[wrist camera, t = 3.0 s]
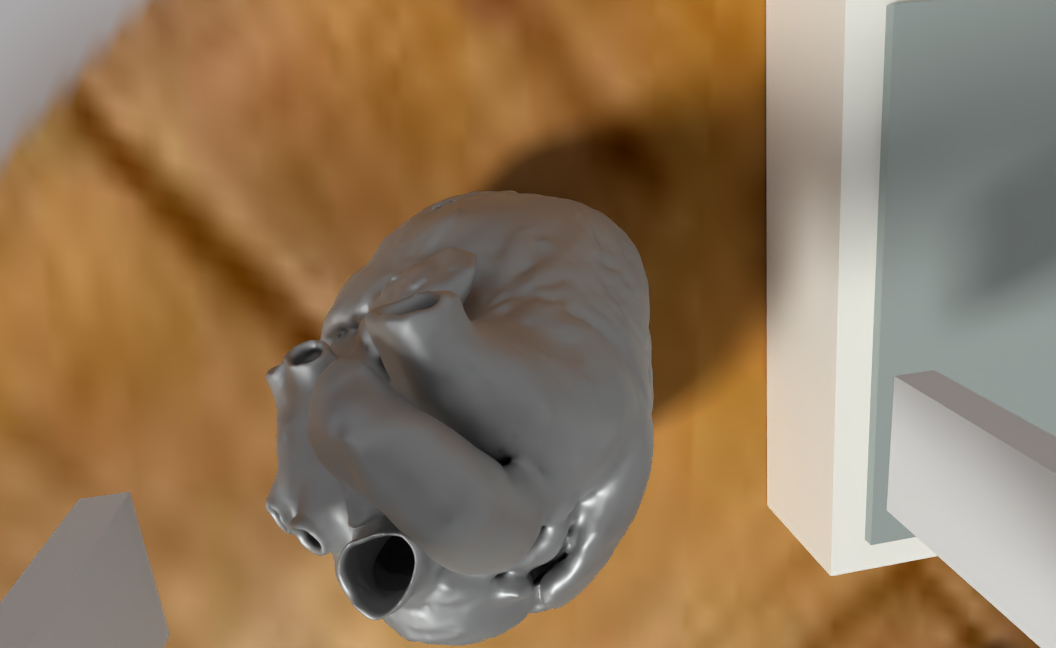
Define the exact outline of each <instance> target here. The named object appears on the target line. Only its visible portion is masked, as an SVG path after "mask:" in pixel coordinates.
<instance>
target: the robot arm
mask: <svg viewBox="0 0 1056 648" xmlns="http://www.w3.org/2000/svg"><path fill="white" fill-rule="evenodd" d="M887 511H888V512H889V513H890V514H891V515H892V516H894V517H895V518H896V519H897V520H898V521H899V522H900V523H901V524H902V525H904V526H905V527H906V528H907V529H908V530H909V531H910V532H911V533H913V534H914V535H915V536H916V537H917V538H918V539H919V540H920V541H922V542H923V543H924V544H925V545H926V546H927V547H928V548H929V549H931V550H932V551H933V552H934V553H935V554H936V555H937V556H938V557H940V558H941V559H942V560H943V561H944V562H945V563H946V564H947V565H949V566H950V567H951V568H952V569H953V570H954V571H955V572H956V573H957V574H959V575H960V576H961V577H962V578H963V579H964V580H965V581H966V582H968V583H969V584H970V585H971V586H972V587H973V588H974V589H975V590H977V591H978V592H979V593H980V594H981V595H982V596H983V597H984V598H986V599H987V600H988V601H989V602H990V603H991V604H992V605H993V606H995V607H996V608H997V609H998V610H999V611H1000V612H1001V613H1002V614H1003V615H1005V616H1006V617H1007V618H1008V619H1009V620H1010V621H1011V622H1012V623H1014V624H1015V625H1016V626H1017V627H1018V628H1019V629H1020V630H1021V631H1023V632H1024V633H1025V634H1026V635H1027V636H1028V637H1029V638H1030V639H1032V640H1033V641H1034V642H1035V643H1036V644H1037V645H1038V646H1039V647H1041V648H1056V437H1055V436H1053V435H1051V434H1050V433H1048V432H1046V431H1044V430H1042V429H1040V428H1039V427H1037V426H1035V425H1033V424H1031V423H1030V422H1028V421H1026V420H1024V419H1022V418H1020V417H1019V416H1017V415H1015V414H1013V413H1011V412H1010V411H1008V410H1006V409H1004V408H1002V407H1000V406H999V405H997V404H995V403H993V402H991V401H989V400H988V399H986V398H984V397H982V396H980V395H979V394H977V393H975V392H973V391H971V390H969V389H968V388H966V387H964V386H962V385H960V384H958V383H957V382H955V381H953V380H951V379H949V378H948V377H946V376H944V375H942V374H940V373H938V372H937V371H935V370H931V371H924V372H918V373H911V374H905V375H898V376H894V393H893V410H892V427H891V444H890V462H889V479H888V496H887ZM168 637H169V630H168V626H167V623H166V619H165V616H164V612H163V609H162V605H161V602H160V598H159V595H158V591H157V587H156V584H155V580H154V577H153V573H152V570H151V566H150V563H149V559H148V555H147V552H146V548H145V545H144V541H143V538H142V534H141V531H140V527H139V523H138V520H137V516H136V513H135V509H134V506H133V502H132V499H131V495H130V492H124V493H118V494H111V495H104V496H98V497H91V498H85V499H79V500H78V501H77V503H76V504H75V505H74V507H73V508H72V509H71V511H70V512H69V513H68V515H67V516H66V517H65V518H64V520H63V521H62V522H61V524H60V525H59V526H58V528H57V529H56V530H55V532H54V533H53V534H52V536H51V537H50V538H49V539H48V541H47V542H46V543H45V545H44V546H43V547H42V549H41V550H40V551H39V553H38V554H37V555H36V557H35V558H34V559H33V560H32V562H31V563H30V564H29V566H28V567H27V568H26V570H25V571H24V572H23V574H22V575H21V576H20V578H19V579H18V580H17V581H16V583H15V584H14V585H13V587H12V588H11V589H10V591H9V592H8V593H7V595H6V596H5V597H4V599H3V600H2V601H1V602H0V648H164V647H165V644H166V642H167V639H168Z"/></svg>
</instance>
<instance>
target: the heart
mask: <svg viewBox="0 0 1056 648" xmlns="http://www.w3.org/2000/svg"><path fill="white" fill-rule="evenodd" d="M649 322H650V303H649V285H648V280H647V277H646V274H645V270H644V267H643V264H642V260H641V257H640V255H639V252H638V250H637V248H636V246H635V245H634V243H633V242H632V241H631V240H630V238H629V237H628V235H627V234H626V233H625V232H624V231H623V230H622V229H621V228H620V227H618V226H617V225H616V224H615V223H614V222H613V221H612V220H611V219H610V218H609V217H607V216H606V215H605V214H603V213H602V212H600V211H598V210H595V209H592V208H590V207H588V206H587V205H585V204H583V203H581V202H577V201H574V200H570V199H564V198H558V197H551V196H544V195H539V194H530V193H525V194H520V193H517V192H516V191H512V190H506V191H474V192H470V193H467V194H463V195H458V196H453V197H450V198H447V199H445V200H442V201H440V202H437V203H435V204H433V205H431V206H429V207H427V208H425V209H423V210H421V211H420V212H419V213H417V214H416V215H414V216H413V217H412V218H410V219H409V220H407V221H406V222H404V223H403V224H402V225H401V226H399V227H398V228H397V229H396V230H395V231H394V232H392V233H391V234H389V235H388V236H387V237H386V238H385V239H384V240H383V241H382V242H381V244H380V246H379V248H378V249H377V251H376V252H375V254H374V256H373V257H372V259H371V260H370V261H369V263H368V264H367V265H366V266H364V267H363V268H361V269H360V270H358V271H357V272H356V273H355V274H353V275H352V277H351V278H350V279H349V280H348V281H347V282H346V284H345V285H344V286H343V288H342V289H341V291H340V292H339V294H338V296H337V298H336V300H335V302H334V305H333V306H332V308H331V309H330V311H329V312H328V314H327V316H326V318H325V321H324V324H323V327H322V332H321V340H320V341H317V340H310V341H307V342H303V343H301V344H299V345H297V346H295V347H294V348H293V349H292V350H291V351H289V352H288V353H287V354H286V355H285V356H284V361H283V362H282V363H281V364H280V365H278V366H275V367H273V368H271V369H270V370H269V371H268V372H267V374H266V375H265V378H266V380H267V382H268V384H269V386H270V389H271V391H272V393H273V396H274V398H275V402H276V407H277V457H278V471H277V475H276V478H275V480H274V482H273V484H272V487H271V490H270V493H269V495H268V497H267V499H266V509H267V511H268V512H269V513H270V514H271V516H272V517H273V518H274V520H275V522H276V523H277V524H278V526H279V527H280V528H281V529H282V530H283V531H284V532H286V533H287V534H292V533H293V534H294V535H295V536H296V537H297V538H298V539H299V541H300V542H301V544H302V545H303V546H304V547H305V548H307V549H308V550H310V551H311V552H312V553H314V554H316V555H321V556H323V555H326V554H328V553H329V552H331V553H332V555H333V558H334V561H335V573H336V577H337V580H338V582H339V583H340V585H341V587H342V589H343V591H344V592H345V594H346V595H347V596H348V598H349V599H350V601H351V603H352V604H353V606H354V607H355V608H356V609H357V610H358V611H359V612H361V613H362V614H363V615H364V616H366V617H367V618H369V619H372V620H379V619H383V620H384V621H385V622H386V623H387V624H388V625H389V626H390V627H391V628H393V629H394V630H395V631H396V632H397V633H398V634H399V635H400V636H402V637H404V638H405V639H406V640H408V641H413V642H423V643H426V644H436V645H452V646H457V645H467V644H474V643H478V642H481V641H484V640H486V639H488V638H493V637H496V636H498V635H500V634H503V633H504V632H506V631H508V630H509V629H511V628H513V627H514V626H516V625H517V624H519V623H520V622H521V621H522V620H523V619H524V618H525V617H526V616H527V615H528V614H529V613H538V612H542V611H546V610H549V609H552V608H553V609H556V608H559V607H562V606H564V605H565V604H567V603H568V602H570V601H571V600H572V599H573V598H575V597H576V596H577V595H578V594H579V593H581V592H582V591H583V590H584V589H585V588H586V587H587V585H588V584H589V583H590V582H591V581H592V580H593V579H594V577H595V576H596V575H597V574H598V572H599V571H600V570H601V569H602V568H603V567H604V566H605V564H606V563H607V562H608V560H609V559H610V557H611V556H612V554H613V551H614V549H615V548H616V546H617V545H618V543H619V541H620V540H621V539H622V537H623V536H624V534H625V532H626V531H627V529H628V527H629V525H630V524H631V522H632V521H633V519H634V517H635V515H636V513H637V511H638V508H639V506H640V503H641V500H642V498H643V495H644V492H645V489H646V486H647V482H648V479H649V475H650V471H651V464H652V457H653V447H654V428H653V421H652V410H653V400H654V392H653V371H652V365H651V352H652V344H651V336H650V332H649V328H648V326H649Z"/></svg>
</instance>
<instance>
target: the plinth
mask: <svg viewBox="0 0 1056 648" xmlns="http://www.w3.org/2000/svg"><path fill="white" fill-rule="evenodd" d="M766 166H767V506H768V507H769V508H770V509H771V510H772V511H773V512H774V514H775V515H776V516H777V517H778V518H779V519H780V520H781V521H782V522H783V524H784V525H785V526H786V527H787V528H788V529H789V530H790V531H791V533H792V534H793V535H794V536H795V537H796V538H797V539H798V540H799V541H800V543H801V544H802V545H803V546H804V547H805V548H806V549H807V550H808V551H809V553H810V554H811V555H812V556H813V557H814V558H815V559H816V560H817V561H818V563H819V564H820V565H821V566H822V567H823V568H824V569H825V570H826V571H827V573H828V574H829V575H830V576H834V575H839V574H845V573H850V572H855V571H861V570H866V569H871V568H876V567H882V566H887V565H892V564H898V563H903V562H908V561H913V560H919V559H924V558H929V557H935V556H937V555H936V554H935V553H934V552H933V551H932V550H931V549H929V548H928V547H927V546H926V545H925V544H924V543H923V542H922V541H920V540H919V539H918V538H917V537H916V536H915V535H914V534H913V533H911V532H910V531H909V530H908V529H907V528H906V527H905V526H904V525H902V524H901V523H900V522H899V521H898V520H897V519H896V518H895V517H894V516H892V515H891V514H890V513H889V512H888V511H887V496H888V479H889V462H890V444H891V427H892V410H893V393H894V376H898V375H905V374H911V373H918V372H924V371H931V370H935V371H937V372H938V373H940V374H942V375H944V376H946V377H948V378H949V379H951V380H953V381H955V382H957V383H958V384H960V385H962V386H964V387H966V388H968V389H969V390H971V391H973V392H975V393H977V394H979V395H980V396H982V397H984V398H986V399H988V400H989V401H991V402H993V403H995V404H997V405H999V406H1000V407H1002V408H1004V409H1006V410H1008V411H1010V412H1011V413H1013V414H1015V415H1017V416H1019V417H1020V418H1022V419H1024V420H1026V421H1028V422H1030V423H1031V424H1033V425H1035V426H1037V427H1039V428H1040V429H1042V430H1044V431H1046V432H1048V433H1050V434H1051V435H1053V436H1055V437H1056V0H766Z"/></svg>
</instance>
